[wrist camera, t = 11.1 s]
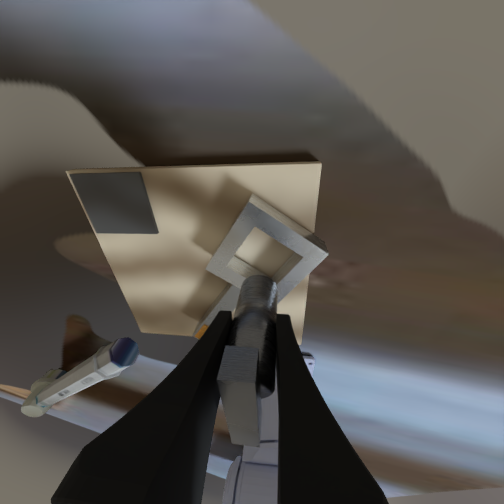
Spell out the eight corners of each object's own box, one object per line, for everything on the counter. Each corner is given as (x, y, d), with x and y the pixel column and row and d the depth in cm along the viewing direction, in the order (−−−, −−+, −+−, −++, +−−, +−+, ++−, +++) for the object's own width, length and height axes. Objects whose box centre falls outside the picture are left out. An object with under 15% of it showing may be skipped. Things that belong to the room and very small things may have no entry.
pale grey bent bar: (132, 376, 28) (30, 432, 34) (154, 336, 34) (63, 389, 40) (99, 354, 26) (-2, 417, 33) (128, 315, 32) (38, 375, 39)
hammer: (277, 317, 15) (273, 449, 9) (243, 315, 15) (218, 441, 9) (278, 257, 12) (274, 385, 6) (238, 256, 13) (198, 377, 7)
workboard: (300, 337, 25) (301, 347, 24) (145, 326, 28) (140, 334, 27) (319, 161, 15) (322, 164, 14) (75, 169, 18) (62, 171, 17)
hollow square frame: (324, 241, 17) (329, 255, 15) (230, 337, 25) (226, 354, 23) (252, 193, 16) (248, 201, 14) (176, 310, 24) (168, 326, 22)
